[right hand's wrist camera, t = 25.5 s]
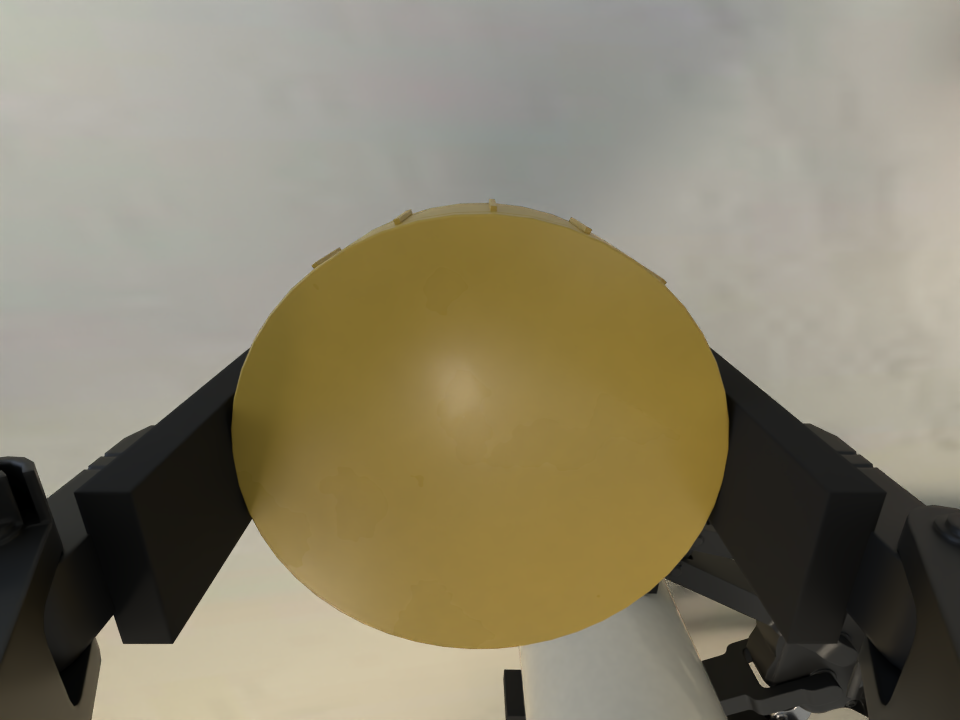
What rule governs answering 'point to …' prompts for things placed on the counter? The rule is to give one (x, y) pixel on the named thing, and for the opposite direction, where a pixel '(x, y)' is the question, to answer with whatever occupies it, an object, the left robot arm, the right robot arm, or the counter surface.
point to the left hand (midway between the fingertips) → (511, 633)
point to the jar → (621, 669)
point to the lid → (480, 428)
